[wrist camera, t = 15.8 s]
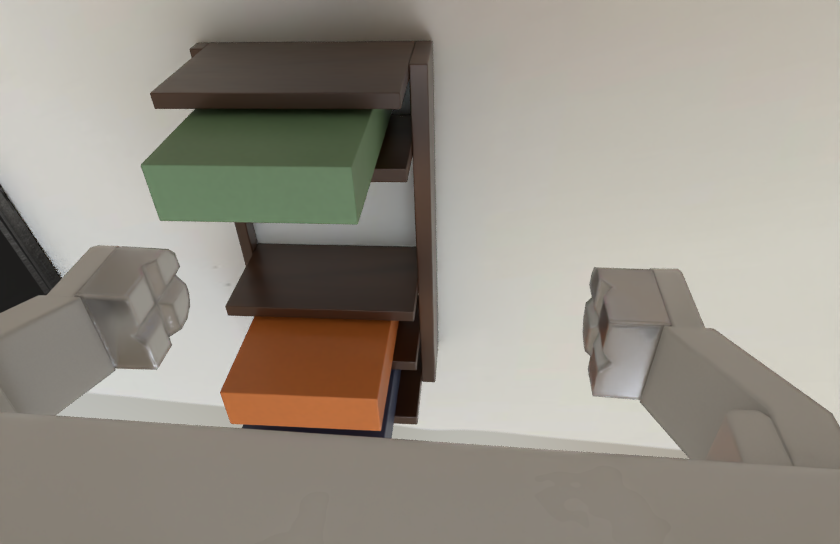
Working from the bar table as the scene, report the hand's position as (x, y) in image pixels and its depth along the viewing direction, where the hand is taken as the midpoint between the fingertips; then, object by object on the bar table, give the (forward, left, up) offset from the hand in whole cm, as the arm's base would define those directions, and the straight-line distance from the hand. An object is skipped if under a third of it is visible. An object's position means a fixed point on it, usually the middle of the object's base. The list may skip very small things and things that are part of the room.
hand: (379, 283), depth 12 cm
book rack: (+15, -8, -26) cm, 30 cm away
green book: (+5, -8, -26) cm, 27 cm away
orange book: (+20, -8, -26) cm, 33 cm away
